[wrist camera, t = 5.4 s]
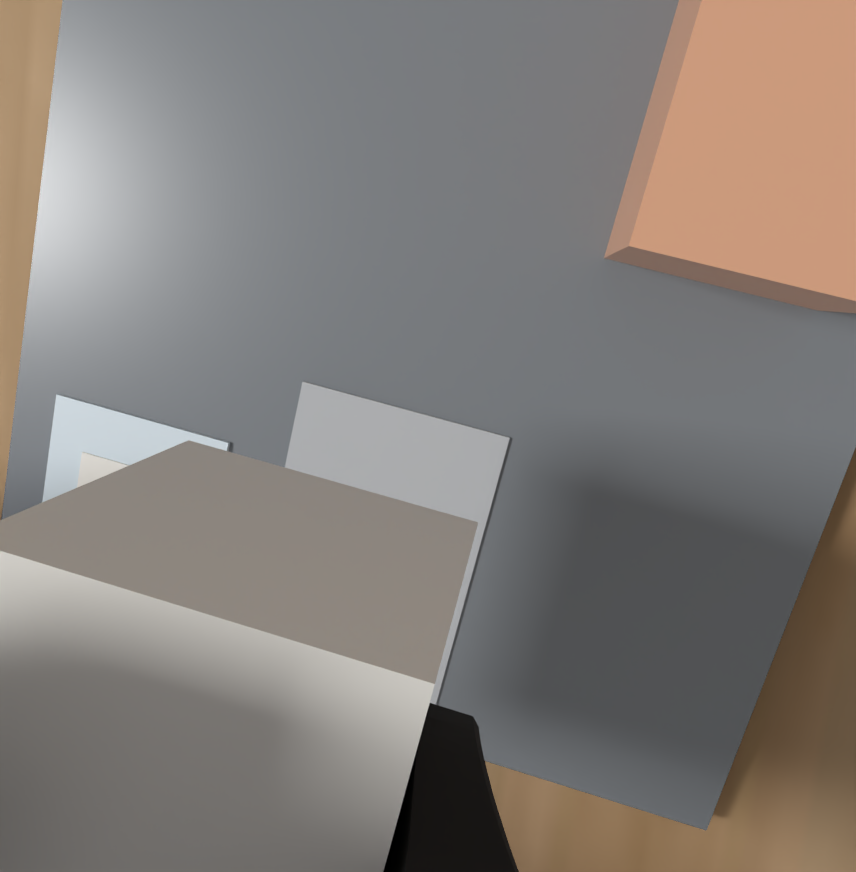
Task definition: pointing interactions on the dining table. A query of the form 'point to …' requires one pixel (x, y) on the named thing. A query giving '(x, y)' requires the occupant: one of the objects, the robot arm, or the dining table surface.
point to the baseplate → (443, 345)
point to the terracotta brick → (750, 153)
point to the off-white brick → (216, 667)
